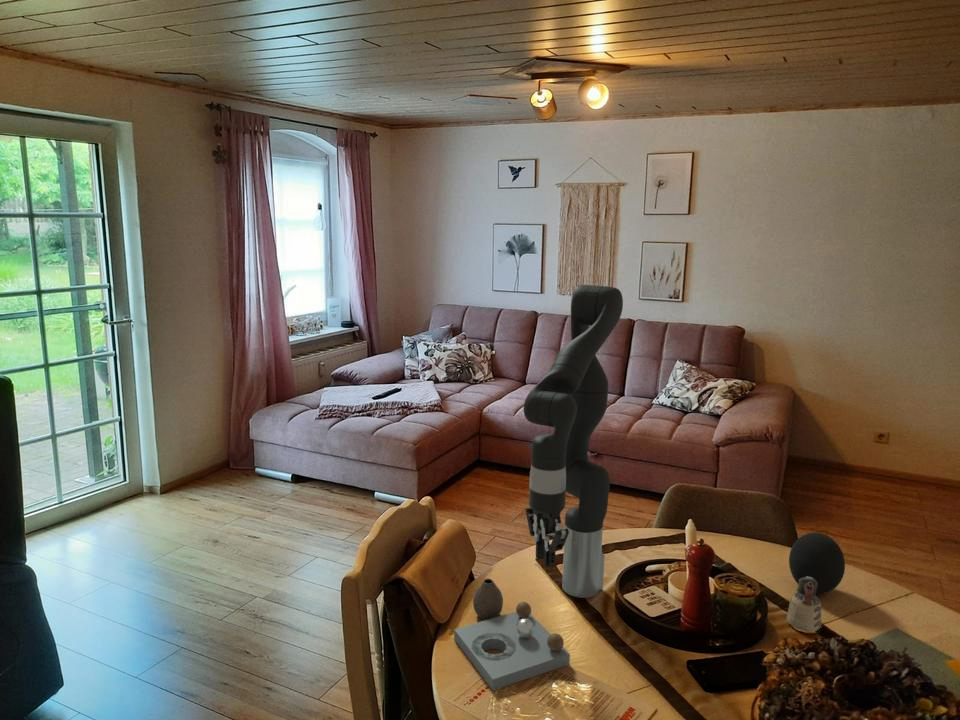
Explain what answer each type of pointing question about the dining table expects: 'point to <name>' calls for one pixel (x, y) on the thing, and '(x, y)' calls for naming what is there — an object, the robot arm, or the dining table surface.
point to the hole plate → (508, 650)
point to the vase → (488, 600)
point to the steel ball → (525, 628)
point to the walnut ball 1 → (523, 609)
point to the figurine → (805, 606)
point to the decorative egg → (817, 561)
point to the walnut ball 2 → (555, 642)
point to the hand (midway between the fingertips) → (545, 561)
